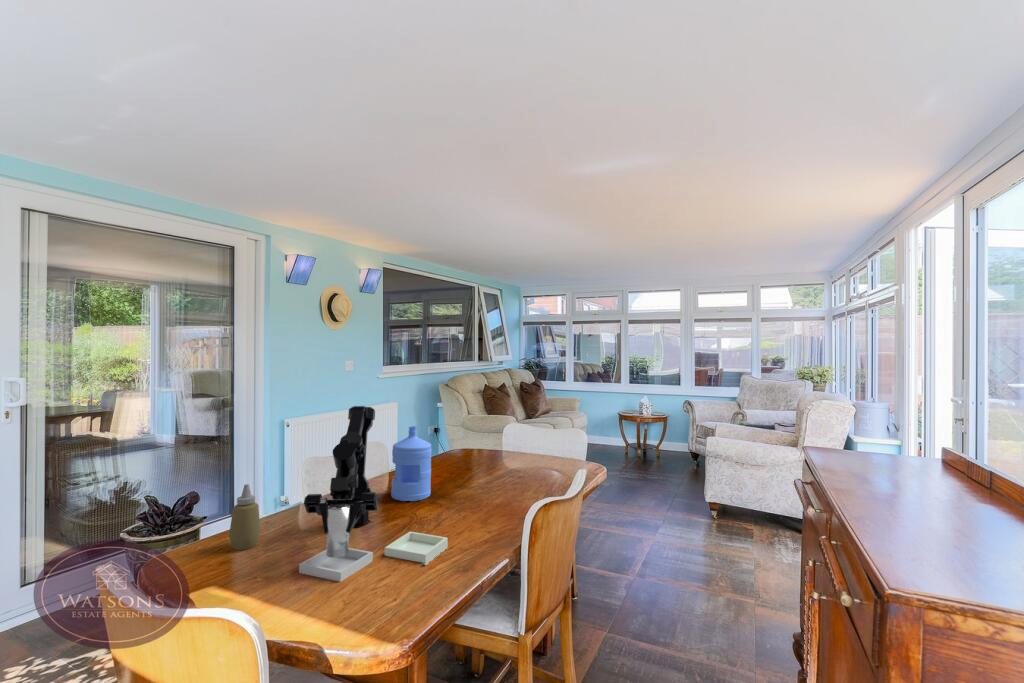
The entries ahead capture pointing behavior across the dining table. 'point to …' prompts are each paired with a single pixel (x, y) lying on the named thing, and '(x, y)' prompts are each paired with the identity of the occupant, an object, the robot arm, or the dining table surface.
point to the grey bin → (336, 564)
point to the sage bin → (417, 547)
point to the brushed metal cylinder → (338, 530)
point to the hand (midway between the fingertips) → (337, 532)
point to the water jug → (411, 468)
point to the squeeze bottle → (245, 521)
